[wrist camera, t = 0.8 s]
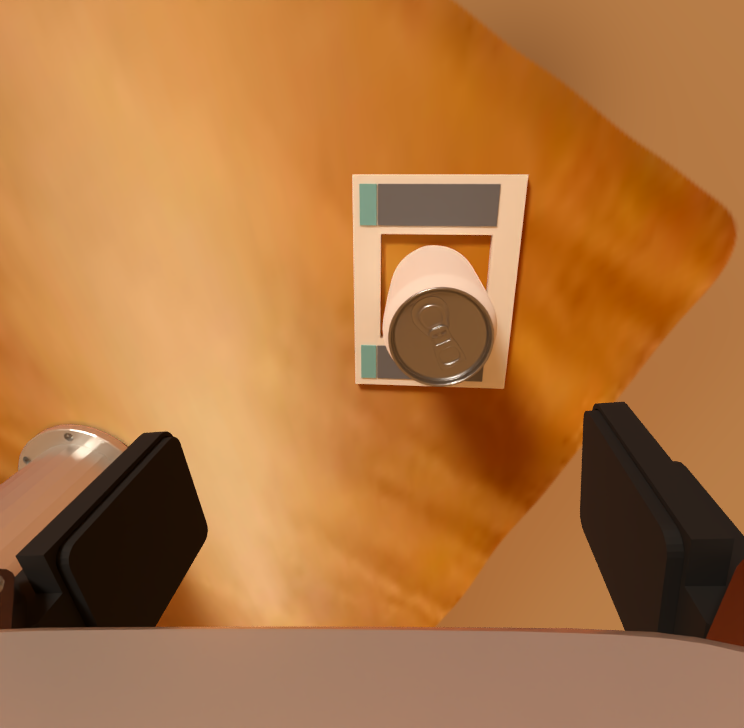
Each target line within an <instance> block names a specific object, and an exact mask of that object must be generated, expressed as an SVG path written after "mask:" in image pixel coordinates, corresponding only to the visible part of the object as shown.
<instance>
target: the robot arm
mask: <svg viewBox="0 0 744 728" xmlns="http://www.w3.org/2000/svg"><path fill="white" fill-rule="evenodd" d="M582 450H583V451H582V475H581V501H580V518H581V524H582V528H583V530H584V533H585V536H586V538H587V540H588V543H589V545H590V547H591V550H592V552H593V555H594V557H595V560H596V562H597V564H598V567H599V569H600V572H601V574H602V576H603V579H604V581H605V583H606V586H607V588H608V591H609V593H610V596H611V598H612V600H613V603H614V605H615V607H616V610H617V612H618V615H619V617H620V619H621V622H622V624H623V627H624V629H625V631H619V630H594V629H573V628H470V627H467V628H465V627H461V628H460V627H155V626H156V624H157V623H158V621H159V619H160V618H161V616H162V614H163V612H164V611H165V609H166V607H167V606H168V604H169V602H170V600H171V599H172V597H173V595H174V594H175V592H176V590H177V588H178V587H179V585H180V583H181V582H182V580H183V578H184V576H185V575H186V573H187V571H188V570H189V568H190V566H191V564H192V563H193V561H194V559H195V558H196V556H197V554H198V552H199V551H200V549H201V547H202V546H203V544H204V542H205V540H206V537H207V532H208V528H207V523H206V520H205V517H204V514H203V511H202V508H201V505H200V501H199V498H198V495H197V492H196V489H195V486H194V483H193V480H192V477H191V474H190V471H189V468H188V465H187V462H186V459H185V456H184V453H183V450H182V447H181V444H180V442H179V440H178V439H177V438H176V437H173V436H172V434H171V433H169V432H152V433H143V434H142V435H140V436H139V437H138V438H137V439H136V440H135V441H134V442H133V443H132V444H131V445H130V446H129V447H127V446H125V445H124V444H123V443H122V442H120V441H119V440H117V439H116V438H114V437H112V436H111V435H109V434H107V433H105V432H102V431H100V430H98V429H95V428H91V427H87V426H83V425H73V424H68V425H58V426H55V427H51V428H48V429H46V430H44V431H43V432H41V433H39V434H38V435H37V436H35V437H34V438H33V439H31V440H30V441H29V442H28V443H27V444H26V446H25V447H24V448H23V450H22V452H21V454H20V457H19V464H18V472H17V473H15V474H14V475H13V476H11V477H10V478H9V479H8V480H6V481H5V482H4V483H2V484H1V485H0V728H744V536H743V534H742V533H741V532H740V531H739V530H738V528H737V527H736V526H735V525H734V524H733V523H732V521H731V520H730V519H729V518H728V517H727V515H726V514H725V513H724V512H723V511H722V509H721V508H720V507H719V506H718V505H717V503H716V502H715V501H714V500H713V499H712V497H711V496H710V495H709V494H708V493H707V491H706V490H705V489H704V488H703V487H702V486H701V484H700V483H699V482H698V481H697V479H696V478H695V477H694V476H693V475H692V473H691V472H690V471H689V470H688V469H687V467H686V466H684V465H683V464H682V463H681V462H677V461H672V460H671V459H670V457H669V456H668V455H667V454H666V452H665V451H664V450H663V449H662V447H661V446H660V445H659V444H658V442H657V441H656V440H655V439H654V438H653V436H652V435H651V434H650V433H649V431H648V430H647V429H646V428H645V426H644V425H643V424H642V423H641V421H640V420H639V419H638V418H637V416H636V415H635V414H634V413H633V411H632V410H631V409H630V408H629V407H628V405H627V404H626V403H625V402H614V403H598V404H595V405H594V406H593V410H592V411H585V413H584V421H583V448H582Z"/></svg>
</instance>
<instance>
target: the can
mask: <svg viewBox="0 0 744 728" xmlns="http://www.w3.org/2000/svg"><path fill="white" fill-rule="evenodd" d="M496 334H497V319H496V313H495V310H494V307H493V304H492V302H491V300H490V298H489V296H488V294H487V292H486V290H485V289H484V287H483V285H482V283H481V281H480V280H479V278H478V276H477V274H476V273H475V271H474V269H473V267H472V266H471V264H470V263H469V262H468V260H467V259H466V258H465V257H464V256H463V255H461V254H460V253H459V252H457V251H455V250H453V249H451V248H448V247H444V246H437V245H430V246H424V247H421V248H419V249H417V250H415V251H413V252H411V253H410V254H409V255H407V256H406V257H405V258H404V259H403V260H402V261H401V262H400V263H399V265H398V266H397V268H396V270H395V272H394V274H393V277H392V281H391V284H390V289H389V293H388V298H387V302H386V307H385V312H384V318H383V337H384V342H385V345H386V348H387V350H388V352H389V354H390V356H391V358H392V359H393V360H394V362H395V363H396V365H397V366H398V368H399V369H400V370H401V371H402V372H403V373H404V374H405V375H407V376H408V377H409V378H411V379H413V380H414V381H416V382H419V383H421V384H424V385H428V386H435V387H445V386H452V385H456V384H459V383H461V382H464V381H466V380H468V379H469V378H471V377H472V376H474V375H475V374H476V373H477V372H478V371H479V370H480V369H481V368H482V367H483V366H484V365H485V363H486V362H487V360H488V358H489V356H490V354H491V351H492V348H493V345H494V343H495V339H496Z"/></svg>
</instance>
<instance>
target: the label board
mask: <svg viewBox="0 0 744 728" xmlns="http://www.w3.org/2000/svg"><path fill="white" fill-rule="evenodd" d="M527 182H528V175H460V174H353V175H352V184H353V251H354V317H355V384H380V385H409V386H428V385H424V384H421V383H419V382H416V381H414V380H413V379H411V378H409V377H408V376H407V375H405V374H404V373H403V372H402V371H401V370H400V369H399V368H398V366H397V365H396V363H395V362H394V360H393V359H392V358H391V356H390V354H389V352H388V350H387V348H386V345H385V342H384V337H383V336H381V234H442V235H491V246H490V257H489V268H488V279H487V290H486V292H487V294H488V296H489V298H490V300H491V302H492V304H493V307H494V310H495V313H496V319H497V334H496V339H495V343H494V345H493V348H492V351H491V354H490V356H489V358H488V360H487V362H486V363H485V365H484V366H483V367H482V368H481V369H480V370H479V371H478V372H477V373H476V374H475V375H474V376H472V377H471V378H469V379H468V380H466V381H464V382H461V383H459V384H456V385H452V386H445V387H467V388H495V389H504V385H505V376H506V367H507V358H508V350H509V341H510V332H511V323H512V314H513V306H514V297H515V288H516V279H517V270H518V262H519V253H520V244H521V235H522V226H523V218H524V209H525V200H526V191H527Z"/></svg>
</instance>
